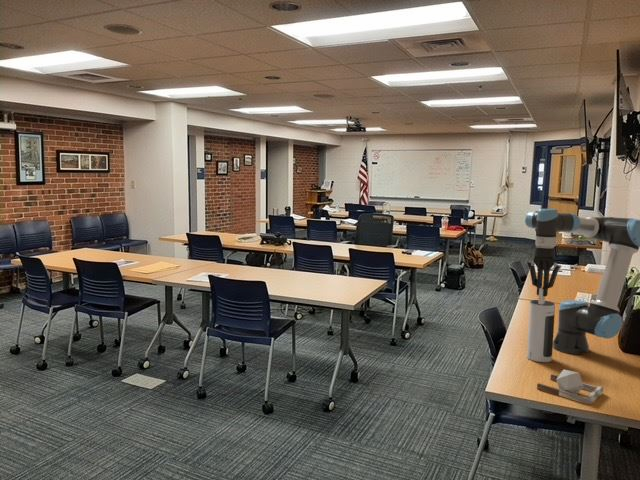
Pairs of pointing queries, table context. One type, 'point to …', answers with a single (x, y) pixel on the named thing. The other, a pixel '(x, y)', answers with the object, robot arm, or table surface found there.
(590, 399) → the grey brown u-shaped frame
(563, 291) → the table surface
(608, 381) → the table surface
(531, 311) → the speaker
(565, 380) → the die
